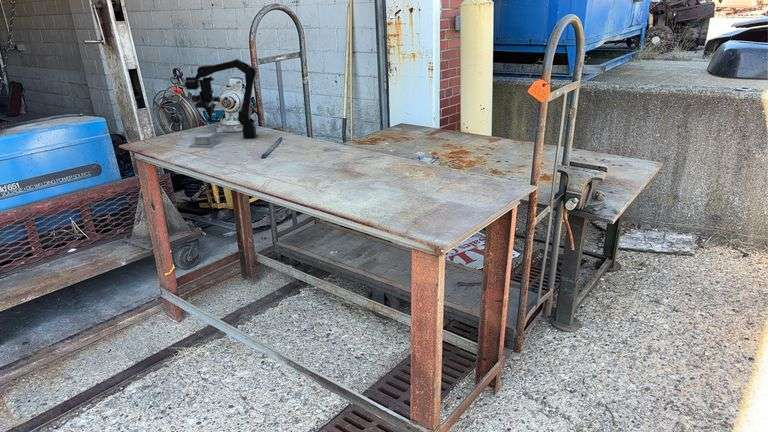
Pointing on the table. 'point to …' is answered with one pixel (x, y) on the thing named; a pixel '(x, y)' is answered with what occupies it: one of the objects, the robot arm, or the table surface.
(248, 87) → the robot arm
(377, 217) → the table surface
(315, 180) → the table surface
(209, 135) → the medicine box
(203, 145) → the slate mat
